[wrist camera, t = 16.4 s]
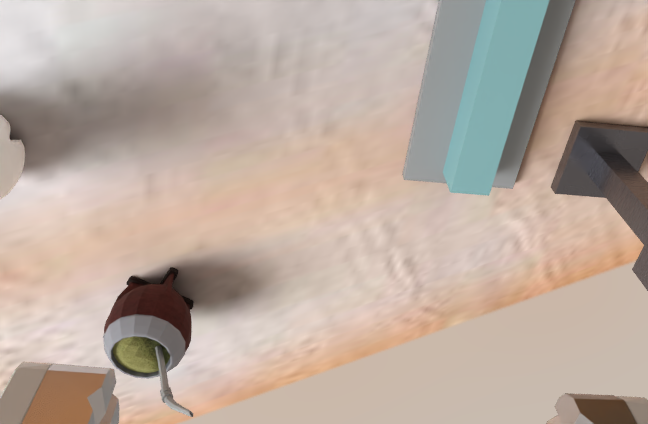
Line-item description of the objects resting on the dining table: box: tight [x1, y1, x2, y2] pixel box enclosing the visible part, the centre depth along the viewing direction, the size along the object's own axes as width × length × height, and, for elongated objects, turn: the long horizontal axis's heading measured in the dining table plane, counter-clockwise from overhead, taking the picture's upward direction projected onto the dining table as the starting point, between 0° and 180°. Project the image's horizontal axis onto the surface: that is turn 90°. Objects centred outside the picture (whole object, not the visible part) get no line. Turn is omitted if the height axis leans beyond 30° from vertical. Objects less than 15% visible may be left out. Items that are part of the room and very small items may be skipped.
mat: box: [403, 0, 576, 189], centre depth 42 cm, size 22×9×1 cm, turn 174°
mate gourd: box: [103, 268, 193, 417], centre depth 47 cm, size 8×8×15 cm
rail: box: [443, 0, 549, 195], centre depth 40 cm, size 20×3×3 cm, turn 174°
